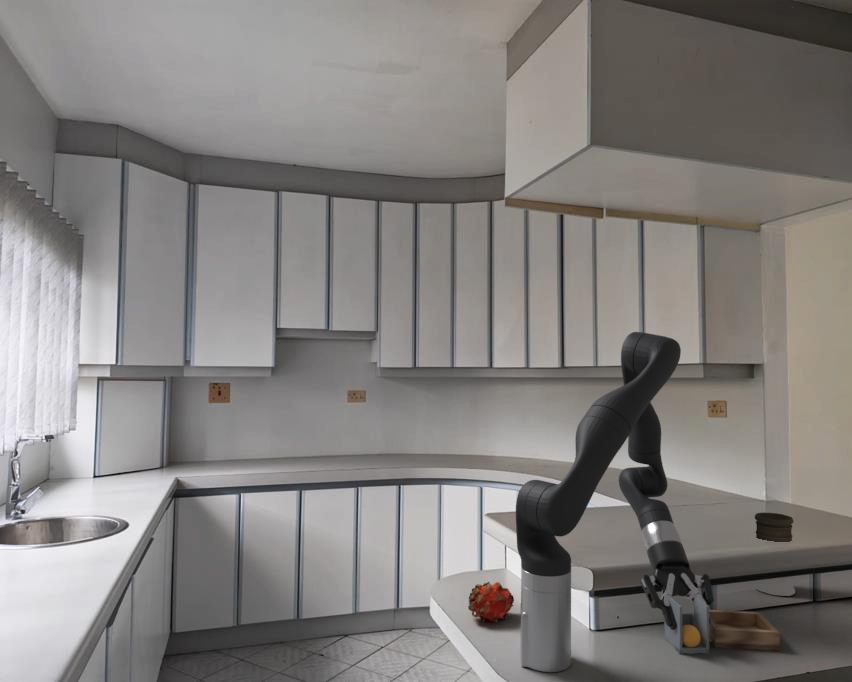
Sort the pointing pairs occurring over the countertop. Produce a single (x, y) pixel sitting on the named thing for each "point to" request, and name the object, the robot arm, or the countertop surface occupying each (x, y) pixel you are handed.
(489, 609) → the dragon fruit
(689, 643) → the ball
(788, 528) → the container
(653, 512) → the robot arm
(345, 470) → the countertop surface
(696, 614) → the holder
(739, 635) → the tray
